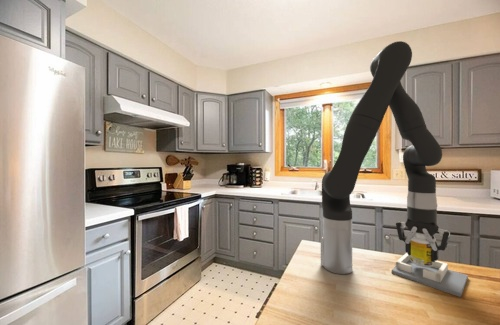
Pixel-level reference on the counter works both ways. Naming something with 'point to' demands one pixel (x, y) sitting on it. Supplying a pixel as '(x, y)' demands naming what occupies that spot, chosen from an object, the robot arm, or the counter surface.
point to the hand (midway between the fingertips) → (421, 257)
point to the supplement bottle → (421, 250)
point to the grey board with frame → (432, 275)
